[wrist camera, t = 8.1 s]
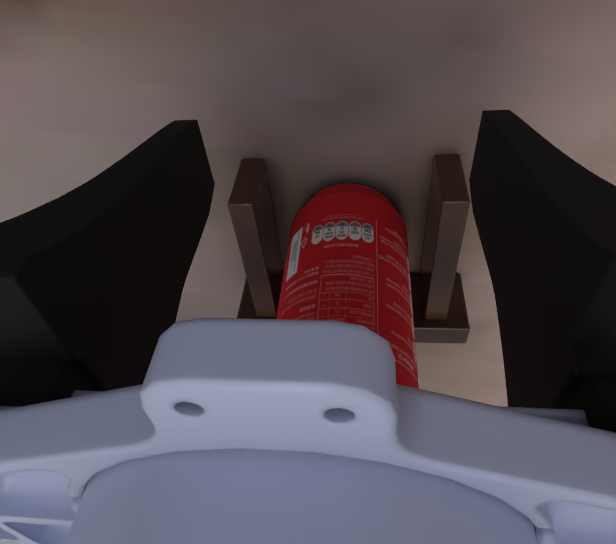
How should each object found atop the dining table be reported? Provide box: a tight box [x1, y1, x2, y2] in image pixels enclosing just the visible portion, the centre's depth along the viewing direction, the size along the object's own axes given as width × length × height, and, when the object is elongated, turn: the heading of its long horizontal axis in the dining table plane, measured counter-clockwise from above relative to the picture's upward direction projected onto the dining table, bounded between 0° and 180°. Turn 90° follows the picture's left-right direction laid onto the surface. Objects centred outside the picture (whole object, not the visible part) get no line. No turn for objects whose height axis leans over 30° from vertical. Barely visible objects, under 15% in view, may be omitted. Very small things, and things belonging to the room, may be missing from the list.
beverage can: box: [276, 183, 419, 389], centre depth 19 cm, size 5×5×12 cm
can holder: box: [228, 155, 470, 343], centre depth 22 cm, size 8×11×4 cm
